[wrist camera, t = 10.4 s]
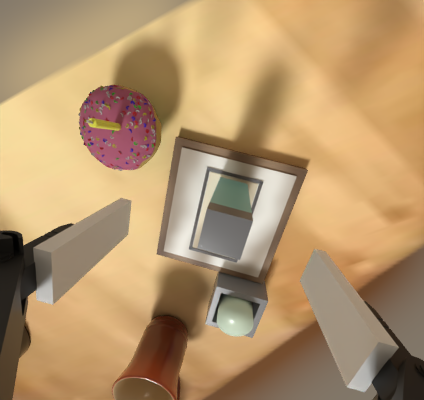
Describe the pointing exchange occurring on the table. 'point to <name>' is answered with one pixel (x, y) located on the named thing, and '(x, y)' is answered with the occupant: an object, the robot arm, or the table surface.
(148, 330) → the mug
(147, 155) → the donut
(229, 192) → the grey and mint block
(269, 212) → the picture frame
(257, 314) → the button frame
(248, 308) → the button
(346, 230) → the table surface
